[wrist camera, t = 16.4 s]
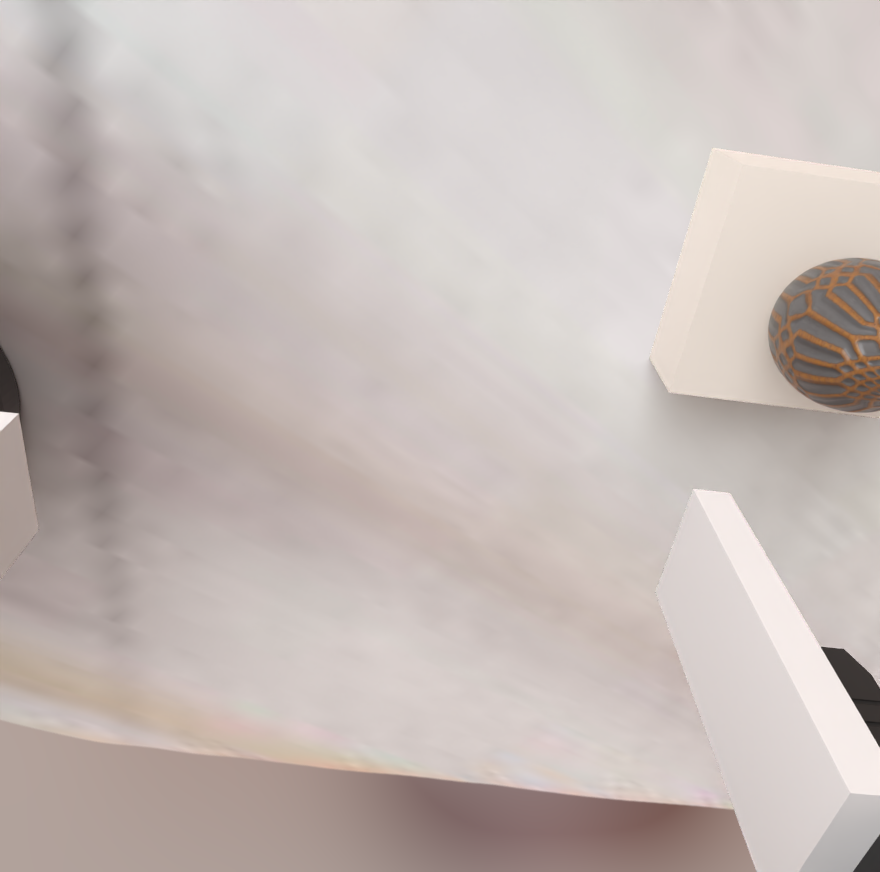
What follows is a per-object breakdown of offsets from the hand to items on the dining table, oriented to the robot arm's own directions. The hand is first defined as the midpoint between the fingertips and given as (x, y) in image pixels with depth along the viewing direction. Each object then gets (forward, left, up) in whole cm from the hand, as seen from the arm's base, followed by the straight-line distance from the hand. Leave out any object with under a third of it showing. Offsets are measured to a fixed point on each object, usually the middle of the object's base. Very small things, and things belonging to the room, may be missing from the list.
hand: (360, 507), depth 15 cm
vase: (+21, -2, -24) cm, 32 cm away
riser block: (+21, -2, -29) cm, 36 cm away
